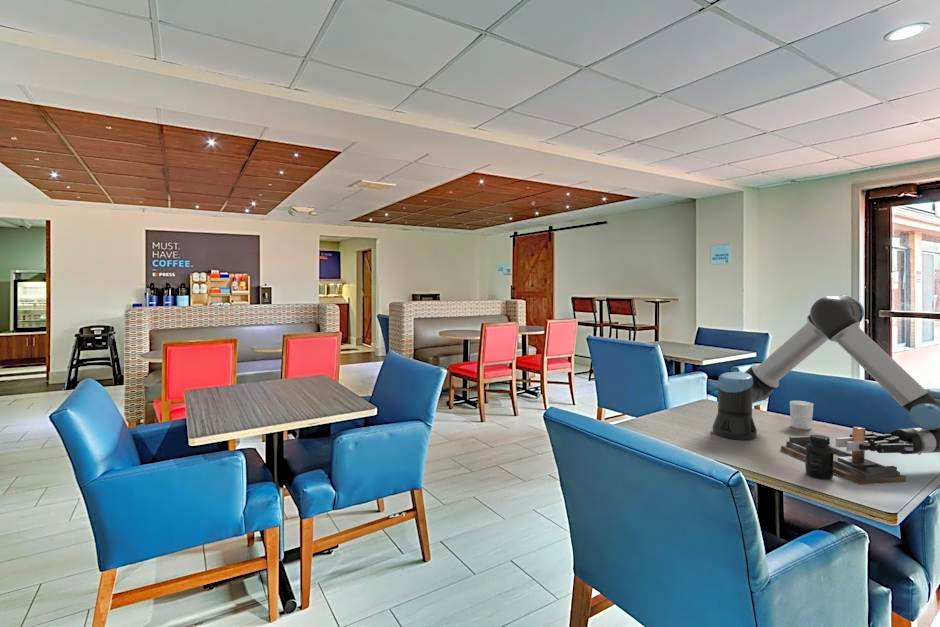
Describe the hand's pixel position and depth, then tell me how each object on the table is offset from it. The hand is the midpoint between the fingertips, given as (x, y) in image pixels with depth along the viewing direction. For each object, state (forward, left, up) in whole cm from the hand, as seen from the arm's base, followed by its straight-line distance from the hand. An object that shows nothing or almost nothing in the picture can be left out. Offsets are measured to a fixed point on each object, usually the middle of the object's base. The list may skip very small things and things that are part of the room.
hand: (842, 444), depth 146 cm
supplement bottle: (-8, -2, -9) cm, 12 cm away
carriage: (+5, +1, -7) cm, 9 cm away
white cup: (+13, +51, -9) cm, 54 cm away
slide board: (+3, +8, -9) cm, 13 cm away
